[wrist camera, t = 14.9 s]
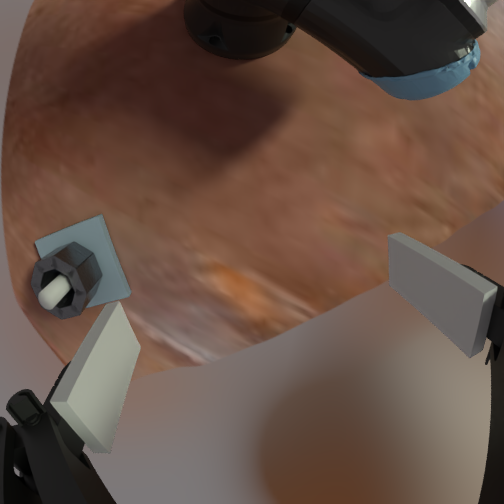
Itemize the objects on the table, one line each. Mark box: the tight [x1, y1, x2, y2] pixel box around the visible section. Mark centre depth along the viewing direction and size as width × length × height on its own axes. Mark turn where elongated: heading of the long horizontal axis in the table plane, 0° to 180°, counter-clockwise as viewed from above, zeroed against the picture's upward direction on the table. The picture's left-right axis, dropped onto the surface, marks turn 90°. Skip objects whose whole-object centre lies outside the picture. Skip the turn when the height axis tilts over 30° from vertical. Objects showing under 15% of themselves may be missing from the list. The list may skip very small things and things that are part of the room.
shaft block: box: [35, 214, 131, 310], centre depth 33 cm, size 12×12×12 cm
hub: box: [31, 241, 103, 319], centre depth 33 cm, size 8×8×6 cm
